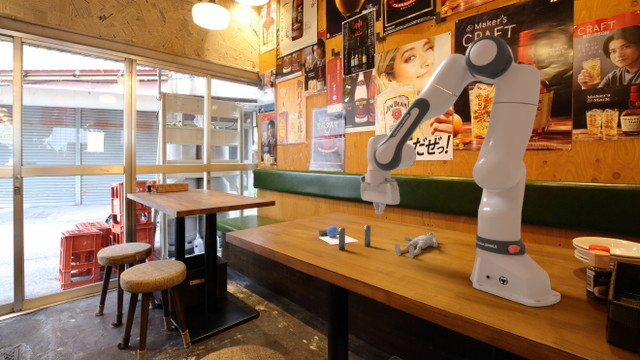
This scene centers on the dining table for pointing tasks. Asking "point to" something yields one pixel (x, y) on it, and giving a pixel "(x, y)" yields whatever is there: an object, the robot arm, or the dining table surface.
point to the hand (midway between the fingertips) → (379, 214)
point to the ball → (332, 231)
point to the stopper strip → (323, 232)
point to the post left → (341, 238)
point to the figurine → (417, 244)
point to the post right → (367, 236)
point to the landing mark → (337, 240)
